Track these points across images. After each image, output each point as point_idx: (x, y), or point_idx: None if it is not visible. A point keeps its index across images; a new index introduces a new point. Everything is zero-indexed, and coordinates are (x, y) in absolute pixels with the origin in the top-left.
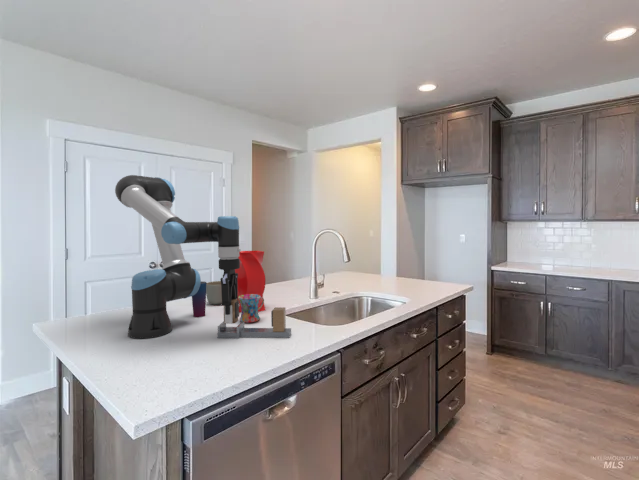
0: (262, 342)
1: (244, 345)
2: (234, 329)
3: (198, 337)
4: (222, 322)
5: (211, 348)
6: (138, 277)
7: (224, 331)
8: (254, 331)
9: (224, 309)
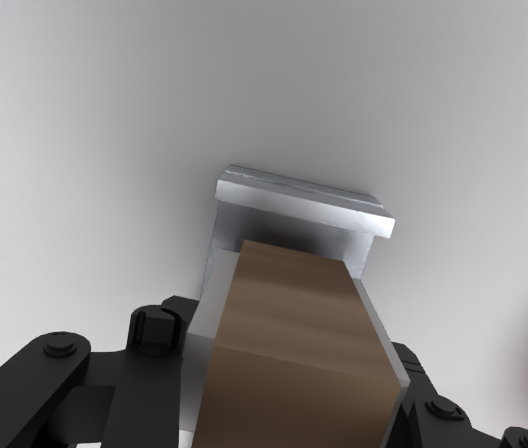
0: None
1: None
2: None
3: (275, 8)
4: (349, 210)
5: (18, 150)
6: None
7: (246, 222)
8: None
9: (198, 306)
